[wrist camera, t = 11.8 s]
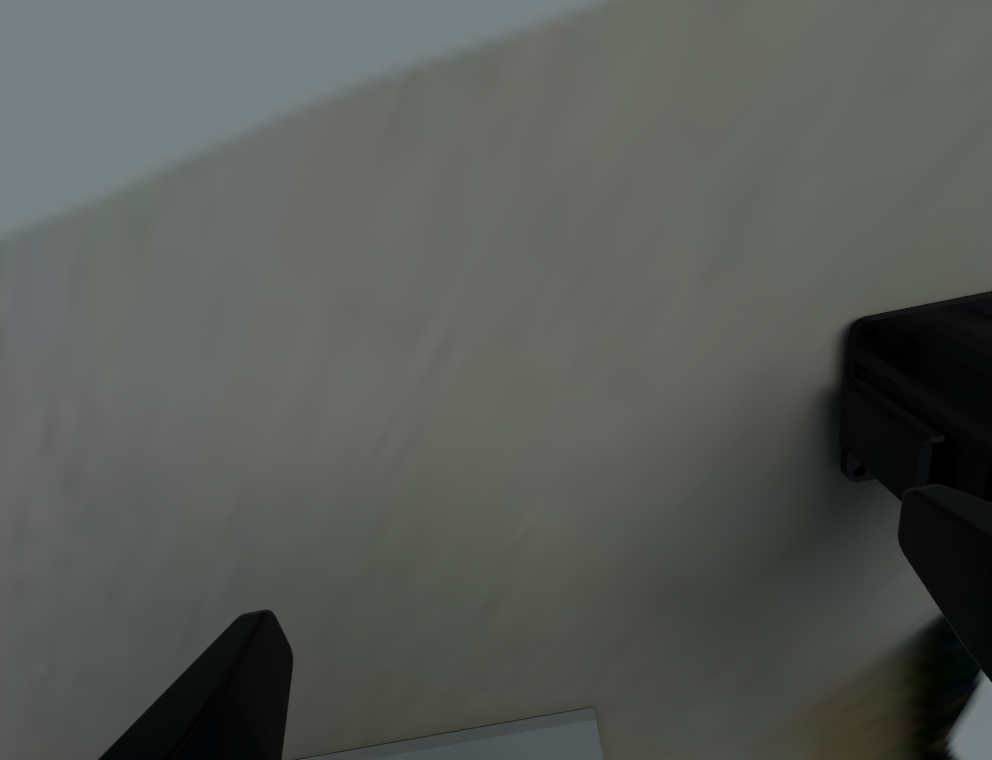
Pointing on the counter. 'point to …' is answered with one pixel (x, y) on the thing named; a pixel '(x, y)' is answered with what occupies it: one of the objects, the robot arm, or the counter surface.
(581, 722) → the slate pad
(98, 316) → the counter surface
